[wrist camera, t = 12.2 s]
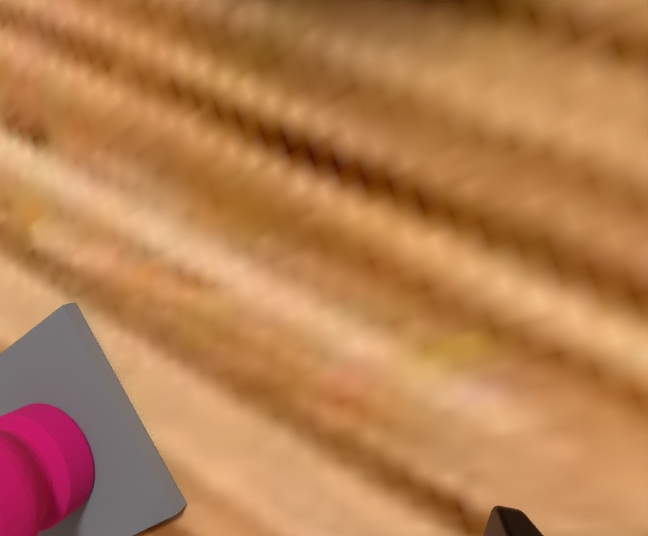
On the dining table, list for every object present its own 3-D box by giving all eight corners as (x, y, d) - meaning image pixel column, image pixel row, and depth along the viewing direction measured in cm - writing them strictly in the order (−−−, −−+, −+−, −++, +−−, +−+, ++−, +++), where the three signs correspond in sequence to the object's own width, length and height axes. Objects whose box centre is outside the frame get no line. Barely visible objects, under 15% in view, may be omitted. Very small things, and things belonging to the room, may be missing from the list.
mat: (186, 504, 24) (177, 514, 23) (45, 573, 28) (33, 583, 27) (75, 302, 25) (62, 305, 24) (-47, 396, 28) (-61, 401, 28)
